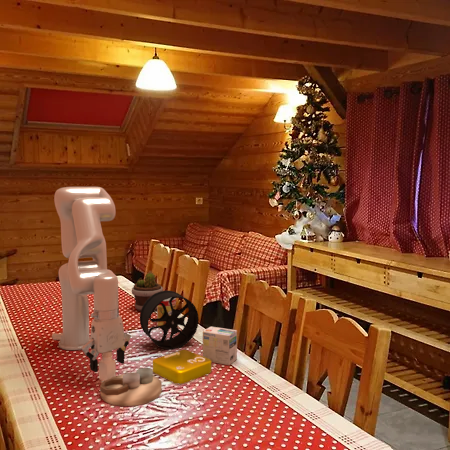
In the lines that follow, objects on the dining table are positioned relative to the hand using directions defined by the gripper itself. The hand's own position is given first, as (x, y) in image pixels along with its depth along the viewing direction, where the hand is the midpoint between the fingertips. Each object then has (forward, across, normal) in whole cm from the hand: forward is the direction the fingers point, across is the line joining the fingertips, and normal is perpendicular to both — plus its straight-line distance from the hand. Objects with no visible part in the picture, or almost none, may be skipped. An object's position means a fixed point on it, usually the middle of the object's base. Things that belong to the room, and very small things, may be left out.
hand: (107, 366), depth 157 cm
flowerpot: (+3, +57, +54) cm, 79 cm away
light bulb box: (+5, +37, -14) cm, 40 cm away
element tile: (+5, +21, -12) cm, 25 cm away
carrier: (+5, 0, -12) cm, 13 cm away
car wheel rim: (+4, +34, +10) cm, 36 cm away
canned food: (+4, +48, +29) cm, 56 cm away
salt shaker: (+5, 0, +1) cm, 5 cm away
